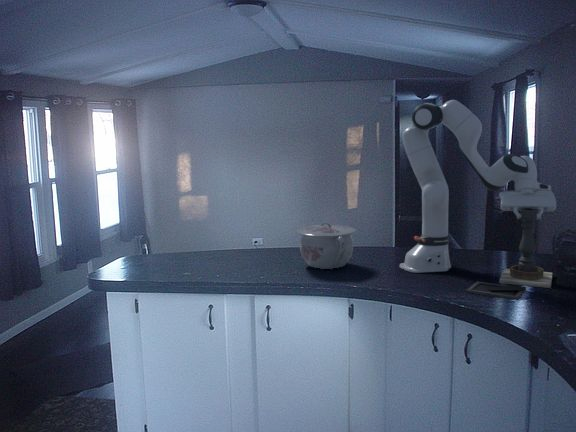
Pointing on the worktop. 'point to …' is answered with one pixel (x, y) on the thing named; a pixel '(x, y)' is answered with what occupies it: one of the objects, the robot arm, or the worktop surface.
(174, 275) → the worktop surface
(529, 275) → the collar board
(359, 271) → the worktop surface
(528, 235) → the candle holder
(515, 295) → the picture frame
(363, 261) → the worktop surface
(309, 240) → the chamber pot
